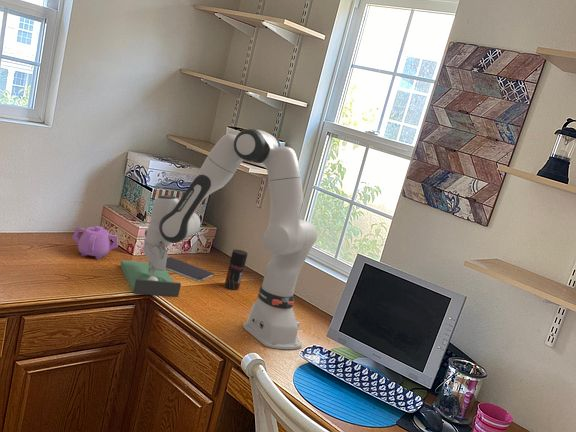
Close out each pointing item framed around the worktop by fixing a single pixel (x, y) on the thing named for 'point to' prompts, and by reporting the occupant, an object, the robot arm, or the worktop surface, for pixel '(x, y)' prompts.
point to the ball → (153, 279)
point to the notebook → (187, 269)
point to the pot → (94, 241)
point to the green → (140, 283)
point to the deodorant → (235, 269)
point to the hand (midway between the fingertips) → (151, 273)
